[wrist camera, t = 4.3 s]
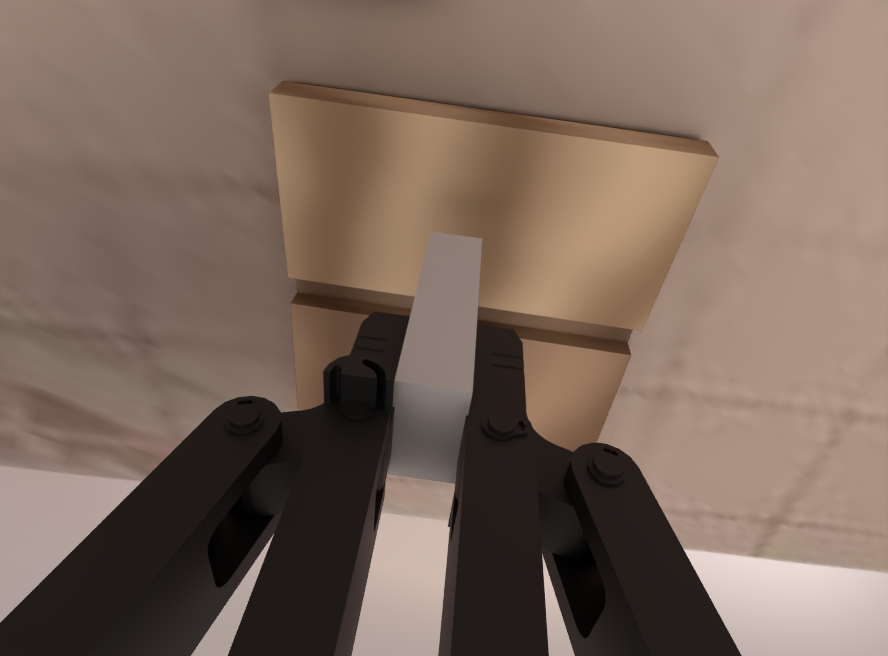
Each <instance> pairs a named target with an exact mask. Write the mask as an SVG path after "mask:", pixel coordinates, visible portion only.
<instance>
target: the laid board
mask: <svg viewBox="0 0 888 656" xmlns="http://www.w3.org/2000/svg"><path fill="white" fill-rule="evenodd" d="M297 289H298V293H297V294H296V296H295V298H294V299H293V301H292V302H291V316H292V331H293V345H294V360H295V375H296V390H297V405H298V411H301V410H306V409H311V408H314V407H316V406H319V405H321V404H323V403H324V386H323V371H324V369H325V368H326V367H327V365H328V364H329V363H330V362H332V361H334V360H336V359H337V358H339V357H343V356H347V355H350V353H351V350H352V349H353V345H354V342H355V339H356V338H357V334H358V331H359V328H360V326H361V323H362V321H364V320H365V319H366V318H367V317H368V316H369V315H371V314H372V313H373V312H374V311H376V312H383V313H390V314H397V315H405V316H410V315H411V311H412V306H413V302H414V298H415V297H414V296H407V295H400V294H394V293H387V292H381V291H374V290H367V289H361V288H354V287H347V286H341V285H334V284H328V283H321V282H314V281H308V280H301V279H297ZM477 324H480V325H487V326H494V327H501V328H508V329H514V330H515V332H516V333H517V335H518V336H519V338H520V339H521V341H522V342H523V360H524V375H525V393H526V411H527V417H528V420H529V421H530V422H531V424H532V427H533V429H534V430H535V431H536V432H537V433H538V434H539V435H540V436H542V437H543V438H544V439H546V440H547V441H549V442H551V443H553V444H555V445H558V446H560V447H563V448H565V449H568V450H570V451H573V452H574V451H575V450H576V449H577V448H579V447H580V446H581V445H584V444H588V443H593V442H594V443H597V440H598V438H599V435H600V433H601V430H602V428H603V425H604V423H605V420H606V418H607V415H608V413H609V410H610V408H611V405H612V403H613V400H614V398H615V395H616V393H617V390H618V388H619V385H620V382H621V380H622V377H623V375H624V372H625V370H626V367H627V365H628V362H629V360H630V357H631V353H630V349H629V346H628V340H629V338H630V335H631V332H632V329H625V328H619V327H612V326H606V325H599V324H592V323H586V322H579V321H573V320H566V319H559V318H553V317H546V316H539V315H533V314H526V313H520V312H513V311H506V310H500V309H493V308H486V307H480V306H478V314H477Z"/></svg>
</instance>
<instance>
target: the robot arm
mask: <svg viewBox="0 0 888 656" xmlns="http://www.w3.org/2000/svg"><path fill="white" fill-rule="evenodd" d="M481 250H482V238H475V237H468V236H461V235H453V234H446V233H439V232H431V233H430V237H429V241H428V245H427V249H426V253H425V257H424V261H423V265H422V270H421V274H420V278H419V282H418V286H417V290H416V294H415V298H414V302H413V306H412V311H411V315H410V316H405V315H397V314H390V313H383V312H376V311H374V312H373V313H372V314H371V315H369V316H368V317H367V318H366V319H365V320H364V321H362V323H361V326H360V328H359V331H358V334H357V338H356V339H355V342H354V345H353V349H352V350H351V353H350V355H347V356H343V357H339V358H337V359H336V360H334V361H332V362H330V363H329V364H328V365H327V367H326V368H325V369H324V371H323V386H324V403H323V404H321V405H319V406H316V407H314V408H311V409H306V410H301V411H292V412H282V413H281V412H280V410H279V409H278V407H277V406H276V405H275V403H273V402H271V401H269V400H267V399H266V398H261V397H255V396H247V397H238V398H235V399H232V400H230V401H227V402H225V403H223V404H222V405H220V406H219V407H218V408H216V409H215V410H214V411H213V412H212V413H211V414H210V415H209V416H208V417H207V418H206V419H205V420H204V421H203V422H202V423H201V424H200V425H199V426H198V427H197V428H196V429H195V430H194V431H192V432H191V433H190V434H189V435H188V436H187V437H186V438H185V439H184V440H183V441H182V442H181V443H180V444H179V445H178V446H177V447H176V448H175V449H174V450H173V451H172V452H171V453H170V454H169V455H168V456H167V457H166V458H165V459H164V460H163V461H162V462H161V463H160V464H159V465H158V466H157V467H156V468H155V469H154V470H153V471H152V472H151V473H150V474H149V475H148V476H147V477H146V478H145V479H144V480H143V481H142V482H141V483H140V484H139V485H138V486H137V487H136V488H135V489H134V490H133V491H132V492H131V493H130V494H129V495H128V496H127V497H126V498H125V499H124V500H123V501H122V502H121V503H120V504H119V505H118V506H117V507H116V508H115V509H114V510H113V511H112V512H111V513H110V514H109V515H108V516H107V517H106V518H105V519H104V520H103V521H102V522H101V523H100V524H99V525H98V526H97V527H96V528H95V529H94V530H93V531H92V532H91V533H90V534H89V535H88V536H87V537H86V538H85V539H84V540H83V541H82V542H81V543H80V544H79V545H78V546H77V547H76V548H75V549H74V550H73V551H72V552H71V553H70V554H69V555H68V556H67V557H66V558H65V559H64V560H63V561H62V562H61V563H60V564H59V565H58V566H57V567H56V568H55V569H54V570H53V571H52V572H51V573H50V574H49V575H48V576H47V577H46V578H45V579H44V580H43V581H42V582H41V583H40V584H39V585H38V586H37V587H36V588H35V589H34V590H33V591H32V592H31V593H30V594H29V595H28V596H27V597H26V598H25V599H24V600H23V601H22V602H21V603H20V604H19V605H18V606H17V607H16V608H15V609H14V610H13V611H12V612H11V613H10V614H9V615H8V616H7V617H6V618H5V619H4V620H3V621H2V622H1V623H0V656H191V654H192V653H193V652H194V650H195V649H196V647H197V646H198V644H199V643H200V641H201V640H202V638H203V637H204V635H205V634H206V632H207V631H208V629H209V628H210V626H211V625H212V624H213V622H214V621H215V619H216V618H217V616H218V615H219V613H220V612H221V610H222V609H223V607H224V606H225V605H226V603H227V601H228V600H229V599H230V597H231V596H232V594H233V593H234V591H235V590H236V588H237V587H238V585H239V584H240V582H241V581H242V580H243V578H244V577H245V575H246V574H247V572H248V571H249V569H250V568H251V566H252V565H253V563H254V562H255V560H256V559H257V557H258V556H259V555H260V553H261V552H262V550H263V549H264V547H265V546H266V544H267V543H268V541H269V540H270V538H271V537H272V535H273V534H274V536H273V538H272V541H271V544H270V546H269V549H268V552H267V554H266V557H265V559H264V562H263V565H262V567H261V570H260V573H259V575H258V578H257V580H256V583H255V586H254V588H253V591H252V593H251V596H250V599H249V601H248V604H247V607H246V609H245V612H244V614H243V617H242V620H241V623H240V625H239V628H238V630H237V633H236V635H235V638H234V641H233V643H232V646H231V649H230V651H229V654H228V656H351V655H352V650H353V645H354V641H355V635H356V631H357V625H358V621H359V616H360V612H361V606H362V601H363V597H364V592H365V587H366V582H367V578H368V573H369V568H370V563H371V558H372V553H373V549H374V544H375V539H376V534H377V530H378V525H379V520H380V515H381V510H382V505H383V501H384V496H385V481H386V476H387V472H388V474H391V475H398V476H406V477H413V478H420V479H427V480H434V481H441V482H448V483H455V492H454V497H453V502H452V508H451V513H450V518H449V524H448V527H450V533H449V544H448V555H447V567H446V577H445V588H444V599H443V611H442V621H441V633H440V644H439V655H438V656H549V653H548V638H547V623H546V608H545V592H544V578H543V577H544V576H543V561H542V554H543V557H544V560H545V563H546V566H547V570H548V573H549V576H550V579H551V582H552V585H553V588H554V591H555V595H556V597H557V601H558V604H559V607H560V610H561V613H562V616H563V620H564V623H565V626H566V629H567V632H568V635H569V639H570V642H571V645H572V648H573V651H574V654H575V656H741V654H740V652H739V650H738V648H737V647H736V645H735V643H734V641H733V639H732V637H731V636H730V634H729V632H728V630H727V628H726V627H725V625H724V623H723V621H722V619H721V617H720V615H719V614H718V612H717V610H716V608H715V606H714V604H713V603H712V601H711V599H710V597H709V595H708V593H707V592H706V590H705V588H704V586H703V584H702V583H701V581H700V579H699V577H698V575H697V573H696V571H695V570H694V568H693V566H692V564H691V562H690V560H689V559H688V557H687V555H686V553H685V551H684V549H683V548H682V546H681V544H680V542H679V540H678V538H677V537H676V535H675V533H674V531H673V529H672V527H671V526H670V524H669V522H668V520H667V518H666V517H665V515H664V513H663V511H662V509H661V507H660V506H659V504H658V502H657V500H656V498H655V496H654V495H653V493H652V491H651V489H650V487H649V485H648V484H647V482H646V480H645V478H644V476H643V474H642V473H641V471H640V469H639V467H638V466H637V465H636V463H635V462H634V461H633V460H632V458H631V457H630V456H628V455H627V454H625V453H624V452H623V451H621V450H620V449H618V448H615V447H613V446H610V445H608V444H603V443H594V442H593V443H588V444H584V445H581V446H580V447H579V448H577V449H576V450H575V451H574V452H573V451H570V450H568V449H565V448H563V447H560V446H558V445H555V444H553V443H551V442H549V441H547V440H546V439H544V438H543V437H542V436H540V435H539V434H538V433H537V432H536V431H535V430H534V429H533V427H532V424H531V422H530V421H529V420H528V417H527V411H526V393H525V375H524V360H523V342H522V341H521V339H520V338H519V336H518V335H517V333H516V332H515V330H514V329H508V328H501V327H494V326H487V325H480V324H477V314H478V298H479V282H480V266H481Z"/></svg>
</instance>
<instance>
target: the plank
mask: <svg viewBox="0 0 888 656" xmlns="http://www.w3.org/2000/svg"><path fill="white" fill-rule="evenodd" d="M269 101H270V111H271V120H272V130H273V139H274V149H275V158H276V168H277V177H278V187H279V196H280V206H281V215H282V225H283V235H284V244H285V254H286V263H287V273H288V278H294V279H301V280H308V281H314V282H321V283H328V284H334V285H341V286H347V287H354V288H361V289H367V290H374V291H381V292H387V293H394V294H400V295H407V296H414V297H415V294H416V290H417V286H418V282H419V278H420V274H421V270H422V265H423V261H424V257H425V253H426V249H427V245H428V241H429V237H430V233H431V232H439V233H446V234H453V235H461V236H468V237H475V238H482V250H481V266H480V282H479V298H478V306H480V307H486V308H493V309H500V310H506V311H513V312H520V313H526V314H533V315H539V316H546V317H553V318H559V319H566V320H573V321H579V322H586V323H592V324H599V325H606V326H612V327H619V328H625V329H632V330H639V331H642V330H643V328H644V325H645V323H646V321H647V319H648V316H649V314H650V312H651V309H652V307H653V305H654V303H655V300H656V298H657V296H658V294H659V291H660V289H661V287H662V285H663V282H664V280H665V278H666V276H667V273H668V271H669V269H670V267H671V264H672V262H673V260H674V257H675V255H676V253H677V251H678V248H679V246H680V244H681V242H682V239H683V237H684V235H685V233H686V230H687V228H688V226H689V224H690V221H691V219H692V217H693V215H694V212H695V210H696V208H697V206H698V203H699V201H700V199H701V196H702V194H703V192H704V190H705V187H706V185H707V183H708V181H709V178H710V176H711V174H712V172H713V169H714V167H715V165H716V163H717V160H718V158H719V157H718V155H717V154H716V152H715V151H714V149H713V148H712V147H711V145H710V144H709V142H708V141H702V140H695V139H688V138H681V137H674V136H667V135H660V134H652V133H645V132H638V131H631V130H624V129H617V128H610V127H603V126H596V125H589V124H582V123H575V122H568V121H561V120H554V119H547V118H540V117H532V116H525V115H518V114H511V113H504V112H497V111H490V110H483V109H476V108H469V107H462V106H455V105H448V104H441V103H434V102H427V101H420V100H412V99H405V98H398V97H391V96H384V95H377V94H370V93H363V92H356V91H349V90H342V89H335V88H328V87H321V86H314V85H307V84H300V83H293V82H285V81H283V82H282V83H280V84H279V85H278V86H277V87H275V88H274V89H273V90H272V91H271V92H269Z"/></svg>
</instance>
